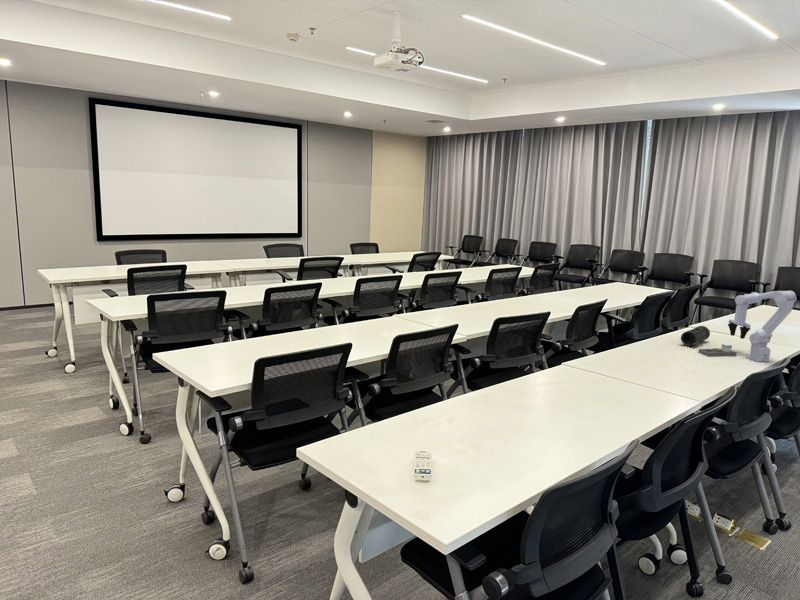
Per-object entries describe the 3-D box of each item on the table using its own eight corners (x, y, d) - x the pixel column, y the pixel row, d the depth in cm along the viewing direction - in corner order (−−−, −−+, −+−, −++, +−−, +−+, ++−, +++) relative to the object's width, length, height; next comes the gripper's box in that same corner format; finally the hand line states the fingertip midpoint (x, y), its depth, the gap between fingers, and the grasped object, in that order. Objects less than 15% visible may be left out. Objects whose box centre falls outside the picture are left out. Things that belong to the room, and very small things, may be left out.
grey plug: (730, 355, 321) (732, 345, 320) (725, 355, 321) (726, 345, 320) (725, 353, 325) (727, 343, 324) (720, 353, 324) (722, 343, 323)
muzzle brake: (679, 345, 341) (681, 329, 339) (694, 339, 360) (696, 324, 358) (695, 348, 334) (697, 332, 332) (710, 342, 353) (712, 326, 351)
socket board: (736, 356, 320) (736, 350, 319) (708, 356, 316) (708, 351, 316) (725, 352, 327) (726, 347, 327) (698, 352, 324) (699, 347, 323)
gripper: (725, 312, 330) (722, 334, 332) (744, 317, 315) (741, 339, 318) (735, 312, 331) (732, 334, 333) (754, 317, 317) (751, 339, 319)
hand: (737, 336), depth 326 cm, fingers open, 7 cm apart
